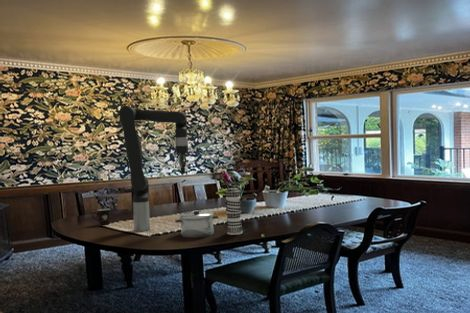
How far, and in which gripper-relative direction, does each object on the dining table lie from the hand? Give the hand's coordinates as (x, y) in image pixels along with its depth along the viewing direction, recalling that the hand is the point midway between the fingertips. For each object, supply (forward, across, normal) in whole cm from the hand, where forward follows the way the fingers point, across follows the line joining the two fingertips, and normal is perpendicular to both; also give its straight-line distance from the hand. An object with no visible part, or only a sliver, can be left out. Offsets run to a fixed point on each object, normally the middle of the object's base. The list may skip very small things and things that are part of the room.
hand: (183, 173), depth 264 cm
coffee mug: (+33, -42, -47) cm, 71 cm away
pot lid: (+23, +21, +2) cm, 31 cm away
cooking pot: (+33, +22, +2) cm, 40 cm away
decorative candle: (+33, +31, +21) cm, 50 cm away
